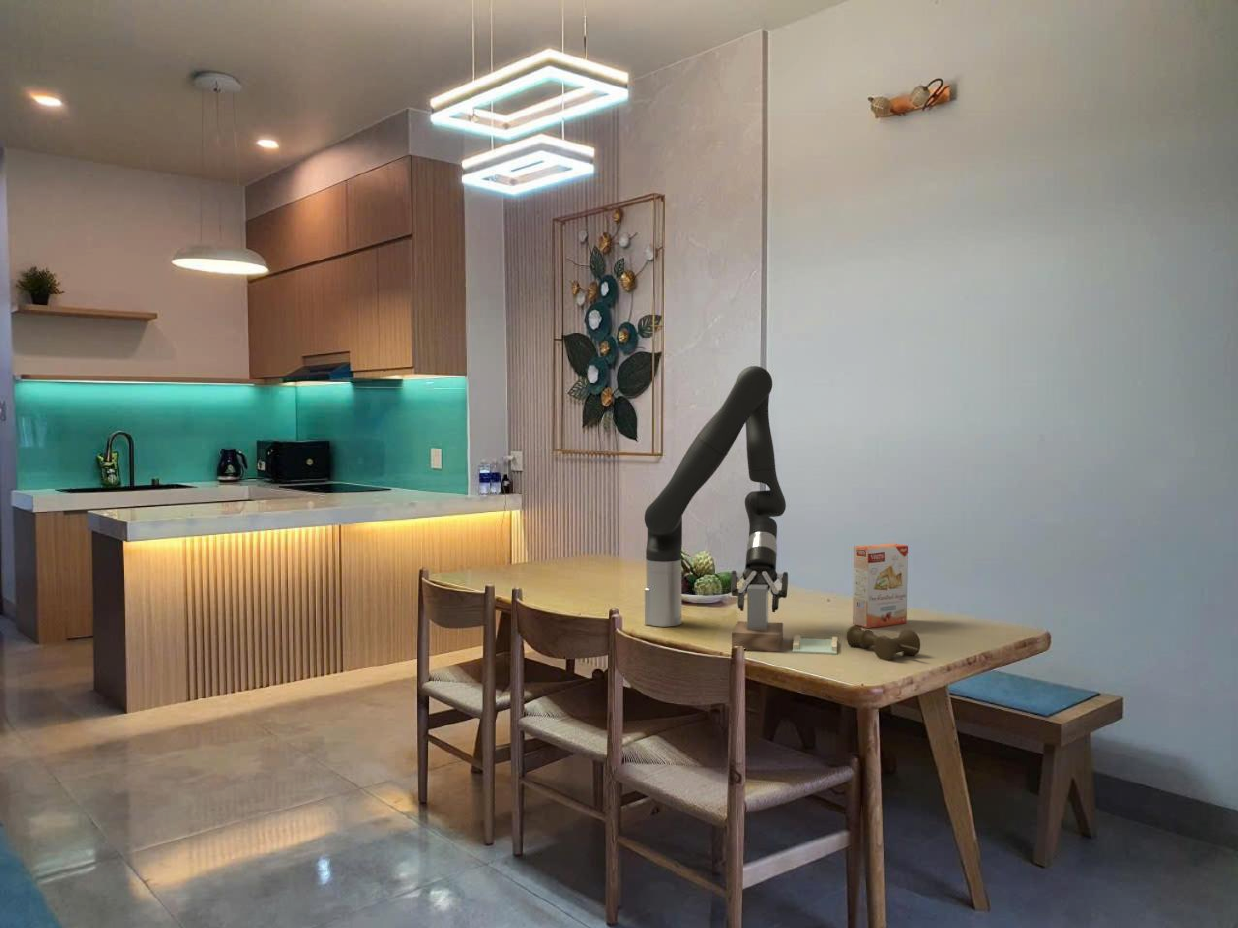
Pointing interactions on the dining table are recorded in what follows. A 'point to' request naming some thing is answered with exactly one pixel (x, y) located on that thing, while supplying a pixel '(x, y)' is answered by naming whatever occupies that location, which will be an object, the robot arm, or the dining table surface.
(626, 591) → the dining table surface
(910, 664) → the dining table surface
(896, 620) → the cracker box
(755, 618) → the gray rectangular block
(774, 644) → the riser
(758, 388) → the robot arm
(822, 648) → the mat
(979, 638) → the dining table surface
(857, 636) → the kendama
